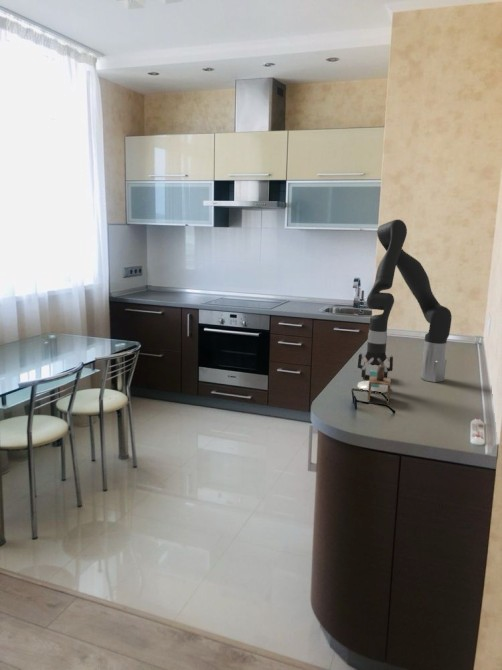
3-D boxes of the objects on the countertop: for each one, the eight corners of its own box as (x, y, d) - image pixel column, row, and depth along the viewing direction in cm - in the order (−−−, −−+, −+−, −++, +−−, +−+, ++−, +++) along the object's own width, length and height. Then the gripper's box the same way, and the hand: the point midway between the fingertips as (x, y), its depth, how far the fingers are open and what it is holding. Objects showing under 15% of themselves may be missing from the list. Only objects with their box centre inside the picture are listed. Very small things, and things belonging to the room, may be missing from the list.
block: (378, 384, 232) (379, 370, 230) (378, 387, 228) (379, 373, 227) (369, 383, 233) (370, 369, 231) (368, 386, 229) (370, 372, 227)
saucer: (396, 390, 228) (396, 387, 228) (371, 394, 222) (372, 392, 221) (374, 382, 239) (374, 379, 239) (350, 385, 233) (351, 383, 232)
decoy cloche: (388, 397, 219) (391, 365, 216) (388, 404, 212) (391, 370, 209) (368, 395, 221) (370, 363, 218) (367, 401, 213) (370, 368, 211)
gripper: (395, 340, 228) (391, 378, 231) (359, 337, 231) (357, 375, 235) (395, 344, 221) (391, 383, 224) (358, 341, 224) (356, 380, 228)
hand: (374, 379), depth 229 cm, fingers open, 8 cm apart
